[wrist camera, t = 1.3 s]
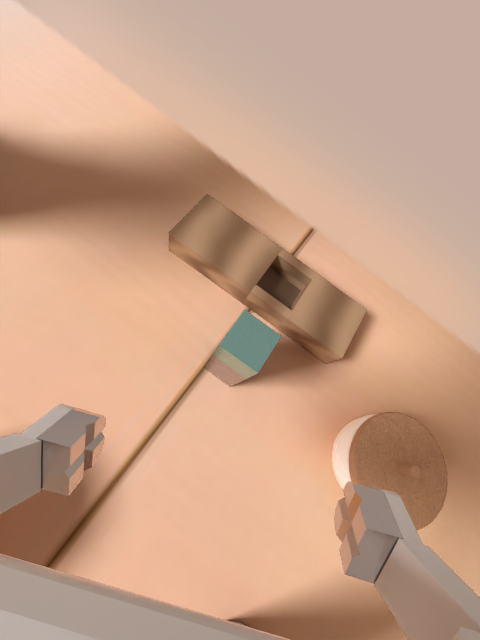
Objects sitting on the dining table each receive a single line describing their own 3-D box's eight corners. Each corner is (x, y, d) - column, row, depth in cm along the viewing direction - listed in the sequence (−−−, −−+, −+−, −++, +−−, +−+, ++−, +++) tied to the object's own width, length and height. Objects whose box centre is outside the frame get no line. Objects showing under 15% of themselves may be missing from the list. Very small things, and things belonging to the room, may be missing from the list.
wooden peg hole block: (168, 249, 39) (168, 232, 35) (204, 213, 42) (207, 193, 38) (325, 363, 39) (342, 358, 35) (349, 319, 42) (366, 309, 38)
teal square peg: (203, 367, 35) (219, 345, 24) (222, 341, 37) (244, 309, 26) (230, 386, 35) (258, 373, 24) (247, 360, 37) (281, 336, 26)
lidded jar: (329, 519, 33) (385, 555, 25) (307, 421, 36) (351, 423, 28) (405, 495, 36) (479, 520, 28) (379, 406, 39) (439, 403, 30)
